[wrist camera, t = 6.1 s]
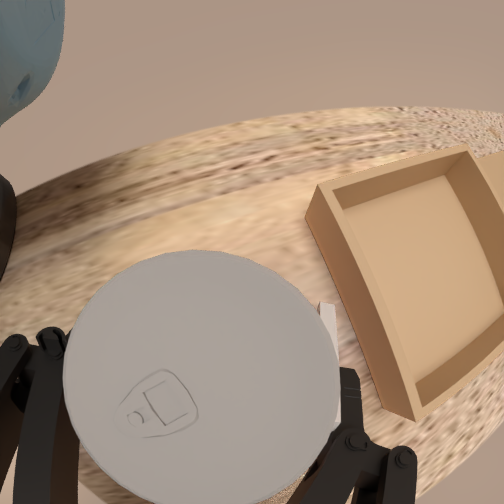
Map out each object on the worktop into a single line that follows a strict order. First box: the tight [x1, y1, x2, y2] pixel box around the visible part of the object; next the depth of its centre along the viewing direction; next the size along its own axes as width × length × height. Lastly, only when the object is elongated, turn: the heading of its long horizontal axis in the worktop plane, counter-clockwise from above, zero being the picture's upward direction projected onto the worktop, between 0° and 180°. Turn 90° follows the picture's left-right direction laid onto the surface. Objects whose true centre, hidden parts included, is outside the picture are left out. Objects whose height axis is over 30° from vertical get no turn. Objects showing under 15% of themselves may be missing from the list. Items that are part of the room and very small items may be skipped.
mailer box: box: [305, 143, 504, 422], centre depth 17 cm, size 28×14×4 cm, turn 111°
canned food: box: [63, 250, 341, 504], centre depth 12 cm, size 8×8×11 cm
